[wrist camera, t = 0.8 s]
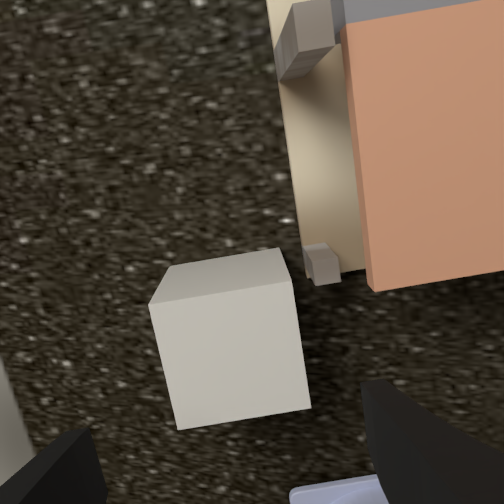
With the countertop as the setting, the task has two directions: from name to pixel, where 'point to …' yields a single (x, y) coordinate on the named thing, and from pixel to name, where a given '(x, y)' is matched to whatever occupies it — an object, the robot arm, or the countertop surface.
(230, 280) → the off-white sharp-edged cube
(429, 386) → the countertop surface
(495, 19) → the trapdoor
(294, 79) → the frame
